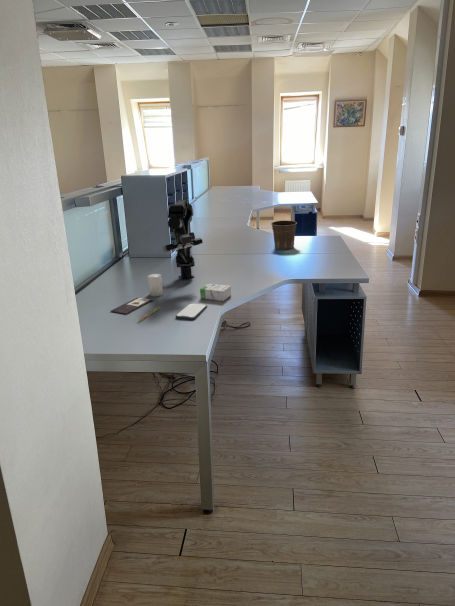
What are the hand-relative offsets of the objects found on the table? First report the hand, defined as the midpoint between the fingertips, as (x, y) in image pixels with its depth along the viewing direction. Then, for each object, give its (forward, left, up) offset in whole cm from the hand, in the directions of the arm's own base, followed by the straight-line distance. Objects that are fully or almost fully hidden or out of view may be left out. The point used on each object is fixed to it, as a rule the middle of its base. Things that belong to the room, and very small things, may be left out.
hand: (187, 262), depth 215 cm
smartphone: (+30, -13, -14) cm, 36 cm away
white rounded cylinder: (-2, -17, -13) cm, 21 cm away
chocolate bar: (+7, -32, -14) cm, 35 cm away
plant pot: (-35, +84, -13) cm, 92 cm away
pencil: (+22, -30, -14) cm, 39 cm away
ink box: (+15, +1, -10) cm, 18 cm away
